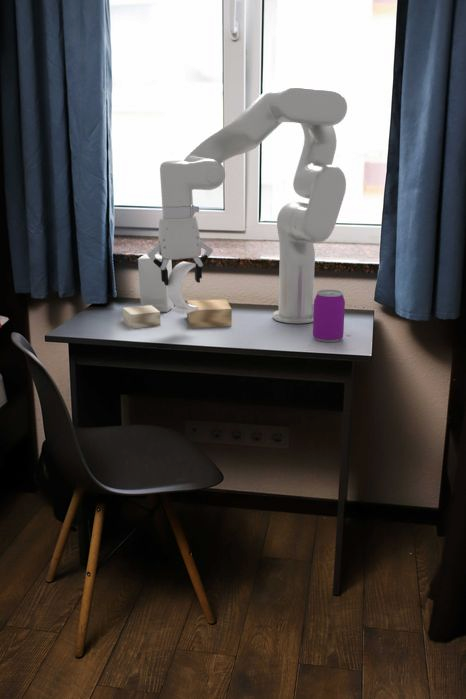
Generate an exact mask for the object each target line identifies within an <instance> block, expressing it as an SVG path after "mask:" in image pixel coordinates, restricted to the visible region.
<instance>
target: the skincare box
mask: <svg viewBox="0 0 466 699" xmlns="http://www.w3.org/2000/svg"><path fill="white" fill-rule="evenodd" d="M147 254H148V253H145V254H143V255H142V256H140V257H139V258H137V264H138V266H137V267H138V281H139V297H140V298H139V299H140V306H147V305H152V306H153V307H155V308H156V309H157V310H158V311H160V313H168V312H169V311H170V310H171V311H172V308H173V307H175V305H174V304H173V303H172V301H171V300H170V298H169V295H168V291H167V286H166V285H165V284H164V282H162V279H161V269H160V268H159V267H158V266H157V265H156V264H155V263H154V262H153V261H152V260H151V259H150V258H149V257H148V255H147ZM155 257H156V258H157V259H158V260H159V261H160V262H161V260H162V256H161V255H160V254H157V253H156V254H155ZM166 269H167V270H168V278H169V275H170V273H171V271H172V270H173V265H172V260H169V262H168V264H167V266H166Z"/></svg>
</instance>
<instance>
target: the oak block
mask: <svg viewBox="0 0 466 699" xmlns="http://www.w3.org/2000/svg"><path fill="white" fill-rule="evenodd" d="M186 303H187V304H189V305H194V306H198V310H196V311H192V312H189V313H186V318H187V322H188V324H189V327H190V328H213V327H214V328H215V327H218V328H219V327H232V326H233V324H232V321H233V319H232V316H233V314H232V312H233V311H232V310H233V309H232V307H231V305H230V303H229V302H228V300H227V298H225V299H196V300H195V299H193V300H190V299H189V300H188V299H187V300H186Z"/></svg>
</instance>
